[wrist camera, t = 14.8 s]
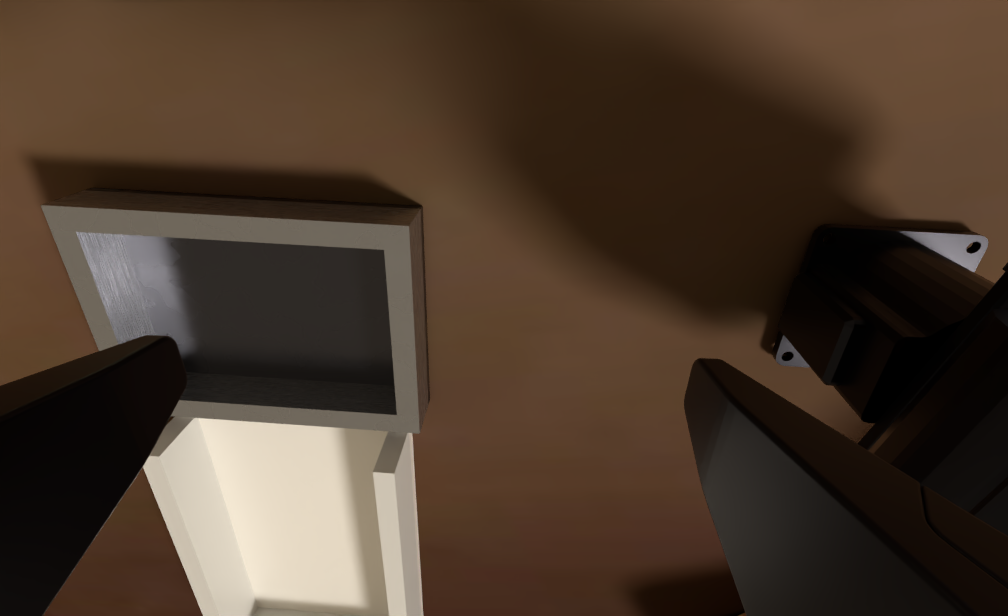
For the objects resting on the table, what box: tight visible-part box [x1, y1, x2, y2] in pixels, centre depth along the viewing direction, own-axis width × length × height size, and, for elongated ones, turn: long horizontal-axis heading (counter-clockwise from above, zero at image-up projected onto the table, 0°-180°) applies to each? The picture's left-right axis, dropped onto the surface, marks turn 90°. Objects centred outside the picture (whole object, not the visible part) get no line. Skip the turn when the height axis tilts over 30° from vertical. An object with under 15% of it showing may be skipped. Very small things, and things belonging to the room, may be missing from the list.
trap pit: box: [41, 188, 430, 434], centre depth 22 cm, size 14×10×2 cm
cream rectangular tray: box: [143, 416, 423, 616], centre depth 29 cm, size 12×18×4 cm, turn 178°
